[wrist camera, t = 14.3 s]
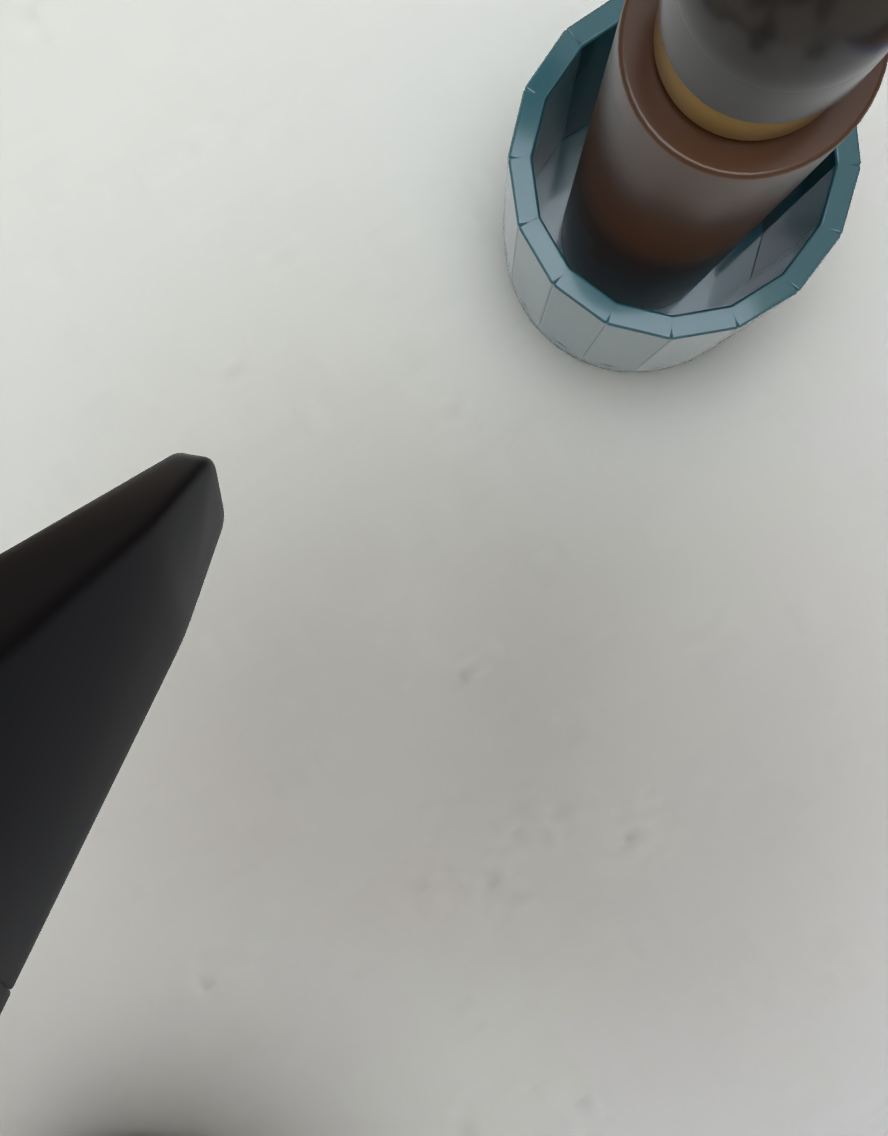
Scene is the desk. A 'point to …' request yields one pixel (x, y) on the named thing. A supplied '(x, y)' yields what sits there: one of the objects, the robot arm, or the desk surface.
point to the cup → (583, 312)
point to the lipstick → (711, 131)
